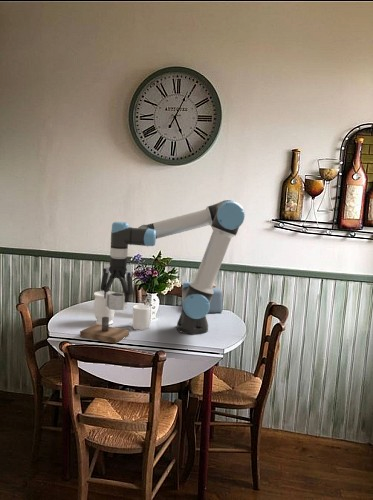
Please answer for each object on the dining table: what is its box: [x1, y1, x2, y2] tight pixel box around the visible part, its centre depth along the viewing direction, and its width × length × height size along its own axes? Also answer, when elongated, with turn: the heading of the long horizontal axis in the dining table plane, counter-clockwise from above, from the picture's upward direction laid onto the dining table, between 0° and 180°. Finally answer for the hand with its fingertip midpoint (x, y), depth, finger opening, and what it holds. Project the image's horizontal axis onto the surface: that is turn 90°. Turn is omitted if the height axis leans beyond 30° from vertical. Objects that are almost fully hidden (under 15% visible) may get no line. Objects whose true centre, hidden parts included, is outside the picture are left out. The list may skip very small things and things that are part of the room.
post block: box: [79, 317, 130, 344], centre depth 206 cm, size 18×12×8 cm, turn 69°
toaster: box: [207, 283, 224, 314], centre depth 257 cm, size 16×16×16 cm
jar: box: [93, 290, 116, 326], centre depth 224 cm, size 11×10×15 cm
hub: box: [107, 291, 124, 311], centre depth 207 cm, size 8×8×6 cm
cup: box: [132, 304, 152, 331], centre depth 223 cm, size 8×12×10 cm
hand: (115, 307), depth 206 cm, fingers closed on hub, 8 cm apart
